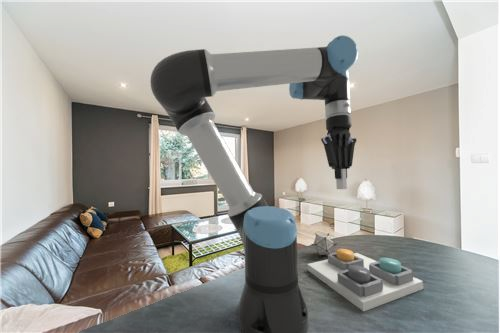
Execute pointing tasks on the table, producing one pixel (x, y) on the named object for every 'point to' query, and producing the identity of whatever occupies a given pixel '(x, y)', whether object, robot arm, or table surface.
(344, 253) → the orange button
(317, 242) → the grey spiky polyhedron
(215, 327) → the table surface
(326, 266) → the panel
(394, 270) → the teal button
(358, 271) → the charcoal button
